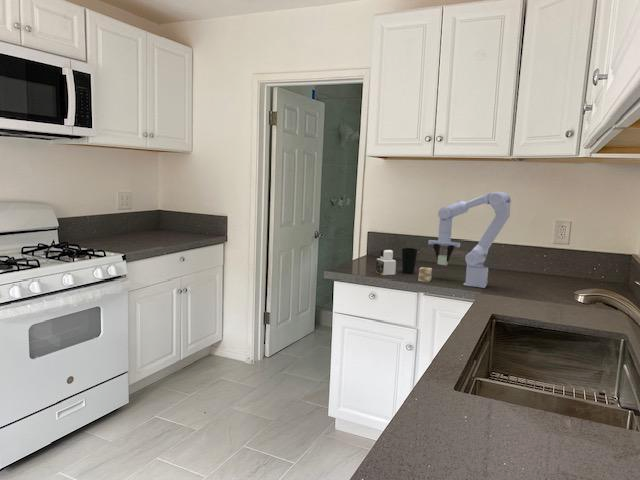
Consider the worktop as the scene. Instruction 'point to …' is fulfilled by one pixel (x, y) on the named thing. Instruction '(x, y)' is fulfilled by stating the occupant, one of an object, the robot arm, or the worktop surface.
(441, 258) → the green cube
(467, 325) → the worktop surface
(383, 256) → the medicine bottle
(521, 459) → the worktop surface
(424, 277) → the lower slab
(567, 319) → the worktop surface
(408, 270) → the cup
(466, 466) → the worktop surface
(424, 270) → the upper slab
